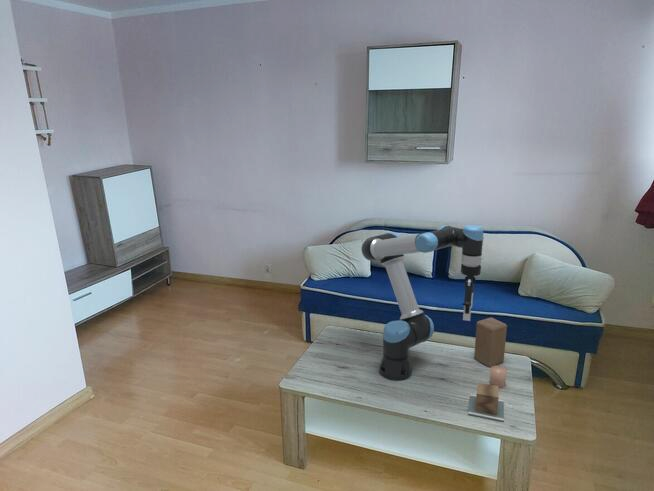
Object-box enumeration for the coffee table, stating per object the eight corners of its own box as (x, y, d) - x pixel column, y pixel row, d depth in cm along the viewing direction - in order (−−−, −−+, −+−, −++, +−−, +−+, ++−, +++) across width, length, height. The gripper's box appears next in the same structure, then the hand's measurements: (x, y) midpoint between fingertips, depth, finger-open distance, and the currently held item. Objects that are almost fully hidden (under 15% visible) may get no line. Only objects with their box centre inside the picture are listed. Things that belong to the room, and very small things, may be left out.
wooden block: (489, 368, 203) (492, 329, 197) (473, 358, 211) (476, 320, 206) (504, 362, 207) (508, 324, 202) (488, 353, 216) (491, 316, 210)
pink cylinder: (489, 386, 189) (490, 371, 187) (489, 378, 195) (490, 364, 193) (505, 389, 187) (506, 374, 185) (505, 381, 192) (506, 366, 190)
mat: (468, 414, 170) (468, 412, 170) (470, 396, 182) (470, 394, 182) (503, 422, 166) (504, 420, 166) (503, 402, 178) (503, 400, 177)
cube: (475, 411, 172) (476, 393, 170) (476, 399, 179) (477, 382, 177) (496, 415, 169) (498, 397, 167) (497, 403, 176) (498, 386, 174)
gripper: (479, 275, 161) (475, 327, 167) (482, 256, 183) (478, 303, 189) (458, 273, 164) (455, 324, 169) (463, 254, 186) (460, 301, 192)
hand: (467, 313), depth 179 cm, fingers open, 13 cm apart
